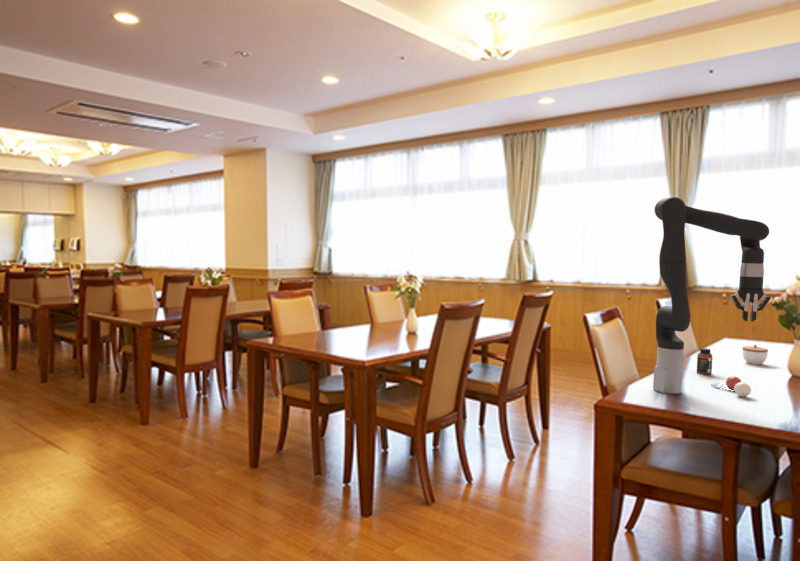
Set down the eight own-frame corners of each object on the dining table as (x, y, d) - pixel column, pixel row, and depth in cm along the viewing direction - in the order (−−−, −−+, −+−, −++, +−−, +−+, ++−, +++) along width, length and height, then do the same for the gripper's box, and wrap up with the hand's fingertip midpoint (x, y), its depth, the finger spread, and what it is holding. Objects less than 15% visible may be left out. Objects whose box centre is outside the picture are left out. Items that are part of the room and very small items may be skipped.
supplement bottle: (713, 375, 248) (714, 350, 247) (698, 374, 249) (700, 349, 249) (708, 372, 254) (710, 348, 253) (694, 371, 255) (696, 347, 254)
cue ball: (738, 378, 215) (736, 390, 216) (732, 383, 211) (730, 396, 213) (754, 382, 211) (752, 395, 212) (748, 388, 207) (746, 401, 209)
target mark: (730, 392, 217) (730, 392, 217) (702, 384, 231) (702, 383, 231) (759, 391, 221) (759, 390, 221) (730, 382, 234) (730, 382, 234)
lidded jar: (746, 360, 286) (747, 342, 285) (770, 364, 278) (771, 345, 277) (738, 362, 279) (739, 344, 278) (762, 366, 271) (763, 347, 270)
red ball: (733, 373, 220) (728, 373, 225) (725, 385, 220) (721, 384, 225) (746, 381, 218) (742, 381, 224) (738, 393, 218) (734, 392, 224)
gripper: (768, 275, 211) (765, 321, 212) (728, 274, 215) (725, 319, 216) (776, 276, 204) (773, 323, 205) (734, 275, 207) (731, 321, 208)
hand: (748, 321), depth 210 cm, fingers closed
